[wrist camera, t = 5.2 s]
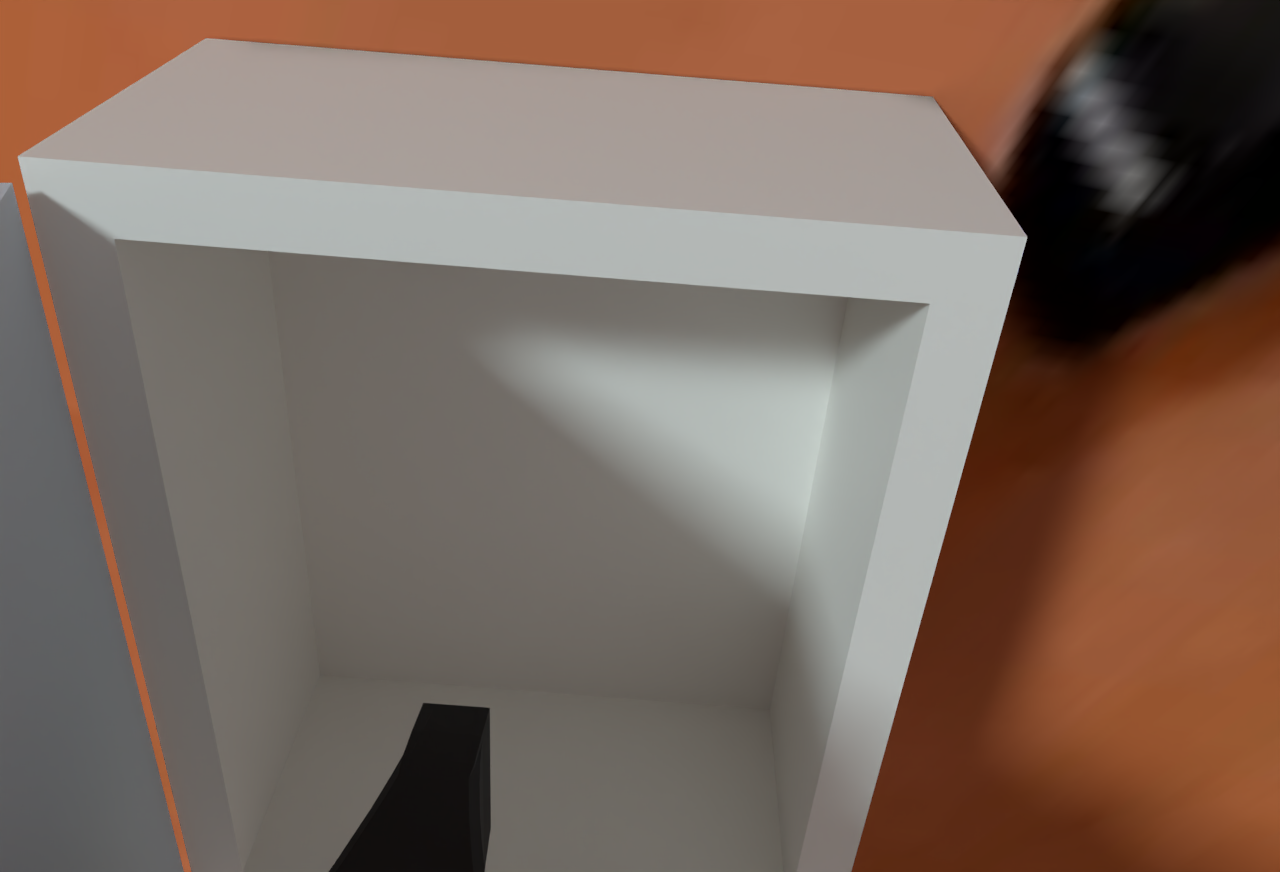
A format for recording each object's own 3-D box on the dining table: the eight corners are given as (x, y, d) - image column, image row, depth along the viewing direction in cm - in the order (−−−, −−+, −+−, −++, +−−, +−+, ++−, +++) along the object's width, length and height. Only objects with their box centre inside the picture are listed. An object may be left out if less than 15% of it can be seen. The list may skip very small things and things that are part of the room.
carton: (932, 97, 15) (1027, 237, 11) (802, 711, 22) (830, 948, 17) (205, 37, 15) (16, 155, 11) (294, 671, 21) (198, 899, 17)
